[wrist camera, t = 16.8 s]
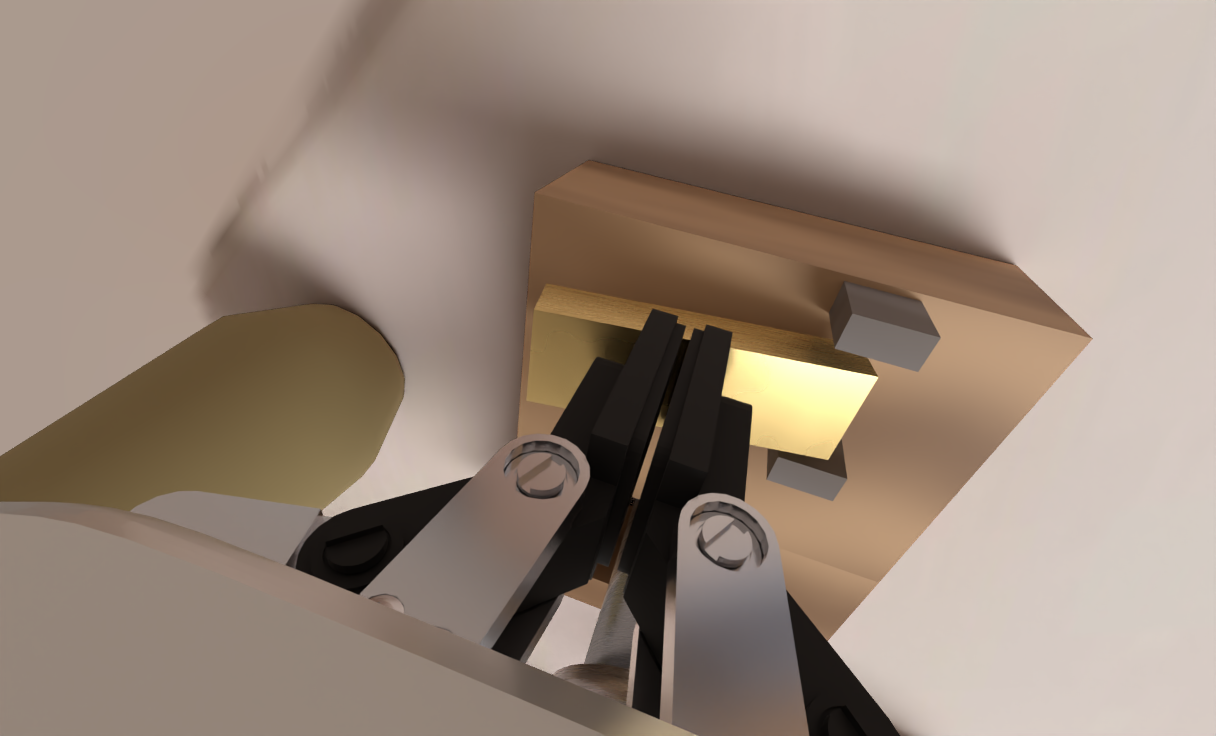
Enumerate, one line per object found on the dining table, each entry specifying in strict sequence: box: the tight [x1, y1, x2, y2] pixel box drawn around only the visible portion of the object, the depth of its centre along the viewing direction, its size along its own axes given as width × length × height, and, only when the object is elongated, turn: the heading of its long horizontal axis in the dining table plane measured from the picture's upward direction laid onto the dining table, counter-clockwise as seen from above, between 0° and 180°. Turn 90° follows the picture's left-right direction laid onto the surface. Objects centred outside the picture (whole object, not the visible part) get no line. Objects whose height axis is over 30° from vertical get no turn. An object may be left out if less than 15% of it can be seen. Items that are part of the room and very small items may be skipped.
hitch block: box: [517, 160, 1093, 641], centre depth 16 cm, size 16×12×6 cm
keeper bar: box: [526, 283, 878, 460], centre depth 11 cm, size 2×7×1 cm, turn 80°
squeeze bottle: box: [0, 304, 405, 511], centre depth 15 cm, size 8×8×18 cm
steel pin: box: [553, 498, 639, 705], centre depth 16 cm, size 5×5×10 cm
